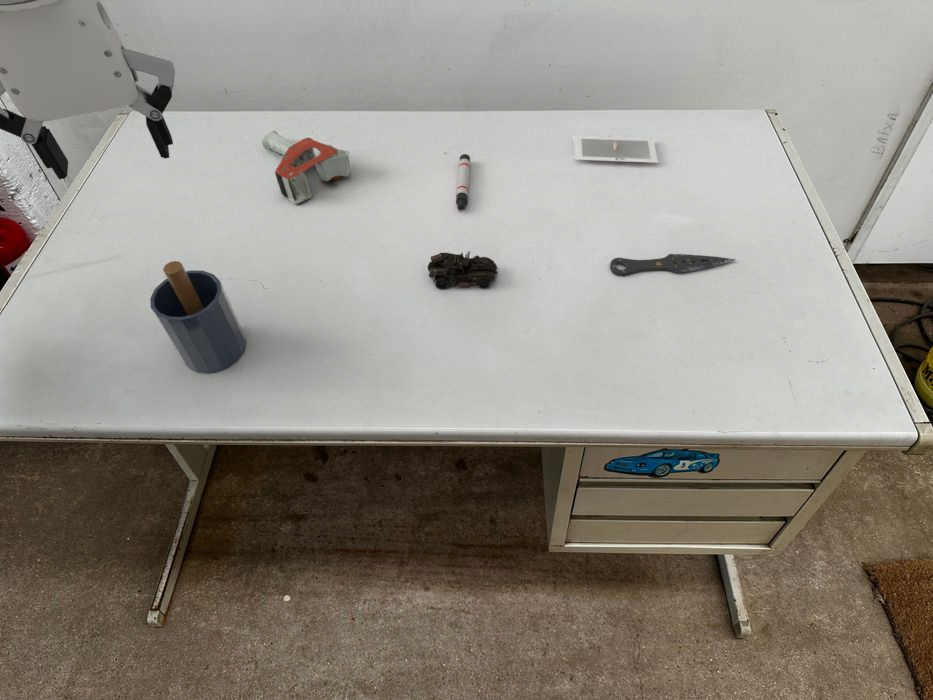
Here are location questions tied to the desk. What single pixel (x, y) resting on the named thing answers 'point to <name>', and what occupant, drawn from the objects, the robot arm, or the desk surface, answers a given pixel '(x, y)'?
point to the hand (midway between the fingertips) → (115, 160)
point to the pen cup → (201, 324)
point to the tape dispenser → (304, 164)
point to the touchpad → (614, 149)
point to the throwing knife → (667, 263)
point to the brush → (183, 287)
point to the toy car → (461, 270)
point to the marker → (463, 181)
